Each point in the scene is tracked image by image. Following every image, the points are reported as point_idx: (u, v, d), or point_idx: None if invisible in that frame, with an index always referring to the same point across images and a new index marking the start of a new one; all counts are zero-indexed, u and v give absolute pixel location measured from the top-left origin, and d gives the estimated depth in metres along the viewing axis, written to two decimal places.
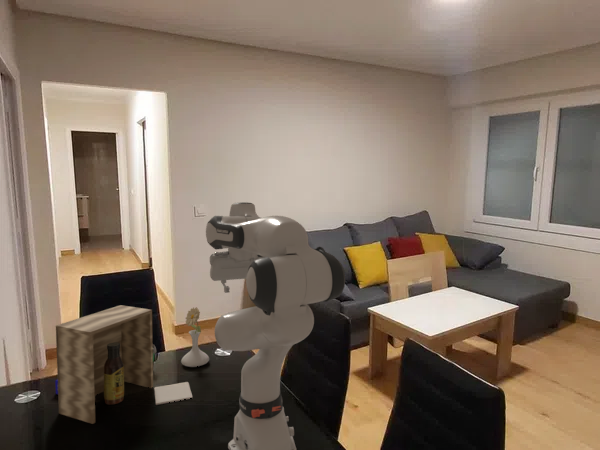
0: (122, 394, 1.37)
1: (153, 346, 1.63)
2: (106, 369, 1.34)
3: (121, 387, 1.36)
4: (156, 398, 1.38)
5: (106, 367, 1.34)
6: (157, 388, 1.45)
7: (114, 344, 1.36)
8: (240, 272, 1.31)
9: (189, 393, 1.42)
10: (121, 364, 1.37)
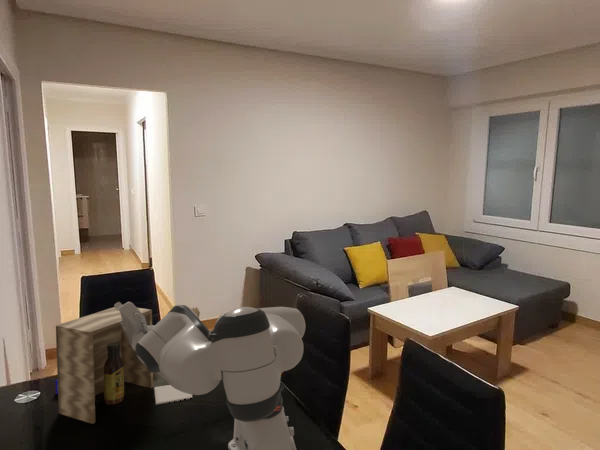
0: (122, 394, 1.37)
1: None
2: (106, 369, 1.34)
3: (121, 387, 1.36)
4: (156, 398, 1.38)
5: (106, 367, 1.34)
6: (157, 388, 1.45)
7: (114, 344, 1.36)
8: (128, 329, 1.19)
9: None
10: (121, 364, 1.37)
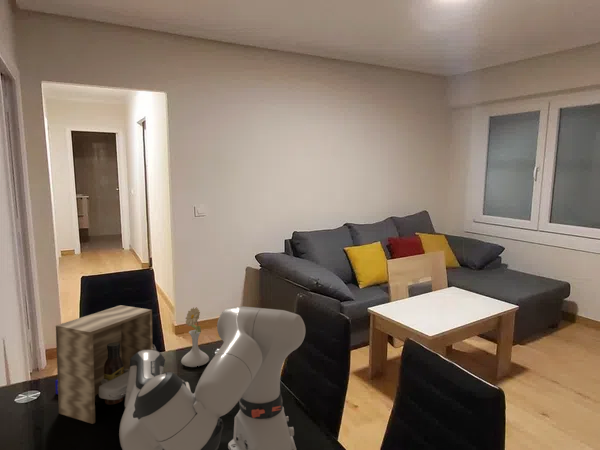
0: None
1: (153, 346, 1.63)
2: (106, 369, 1.34)
3: None
4: None
5: (106, 367, 1.34)
6: None
7: (114, 344, 1.36)
8: None
9: None
10: (121, 364, 1.37)
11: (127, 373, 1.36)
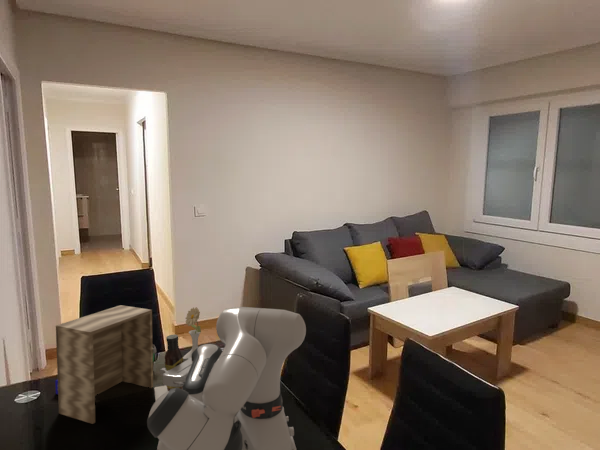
0: None
1: (153, 346, 1.63)
2: (167, 360, 1.40)
3: None
4: (156, 398, 1.38)
5: (167, 358, 1.41)
6: (157, 388, 1.45)
7: (173, 336, 1.42)
8: None
9: None
10: (180, 355, 1.43)
11: (186, 362, 1.41)
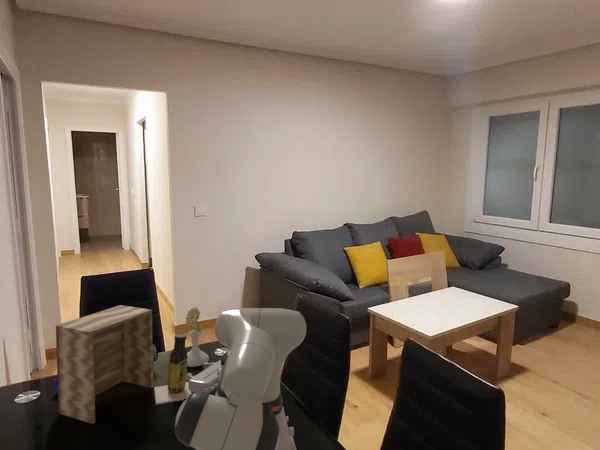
0: (184, 383, 1.44)
1: (153, 346, 1.63)
2: (172, 358, 1.41)
3: (184, 377, 1.43)
4: (156, 398, 1.38)
5: (172, 357, 1.41)
6: (157, 388, 1.45)
7: (181, 335, 1.43)
8: None
9: (189, 393, 1.42)
10: (186, 355, 1.43)
11: (211, 367, 1.37)
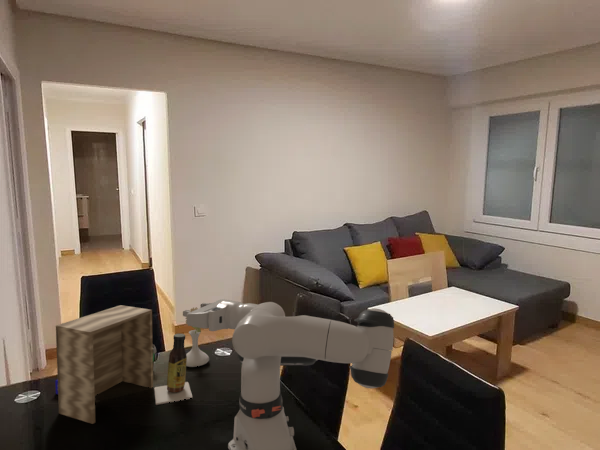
0: (182, 384, 1.43)
1: (153, 346, 1.63)
2: (170, 358, 1.42)
3: (182, 377, 1.43)
4: (156, 398, 1.38)
5: (170, 356, 1.42)
6: (157, 388, 1.45)
7: (180, 335, 1.43)
8: (212, 305, 1.34)
9: (189, 393, 1.42)
10: (184, 355, 1.43)
11: None
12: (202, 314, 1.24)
